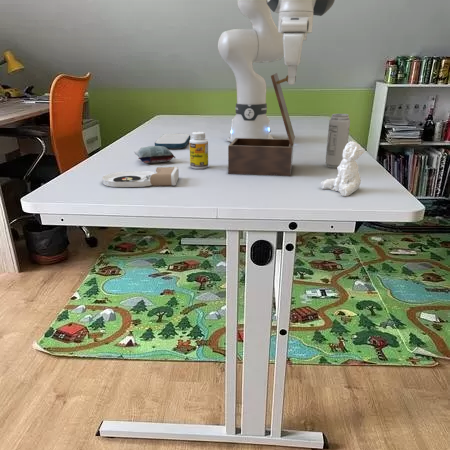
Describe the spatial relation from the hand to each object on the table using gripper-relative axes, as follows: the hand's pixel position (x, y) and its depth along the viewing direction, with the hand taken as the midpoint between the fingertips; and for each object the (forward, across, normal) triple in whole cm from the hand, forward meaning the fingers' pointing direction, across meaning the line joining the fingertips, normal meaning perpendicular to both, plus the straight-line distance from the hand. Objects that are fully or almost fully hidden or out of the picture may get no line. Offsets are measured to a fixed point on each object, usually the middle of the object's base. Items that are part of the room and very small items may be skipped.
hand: (291, 83), depth 125 cm
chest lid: (+7, 0, -2) cm, 7 cm away
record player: (+24, +20, -38) cm, 50 cm away
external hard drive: (+23, -38, -45) cm, 63 cm away
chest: (+24, 0, -8) cm, 25 cm away
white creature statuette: (+24, +20, +16) cm, 35 cm away
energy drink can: (+24, -8, +14) cm, 29 cm away
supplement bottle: (+24, 0, -26) cm, 36 cm away
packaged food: (+24, -6, -42) cm, 49 cm away
